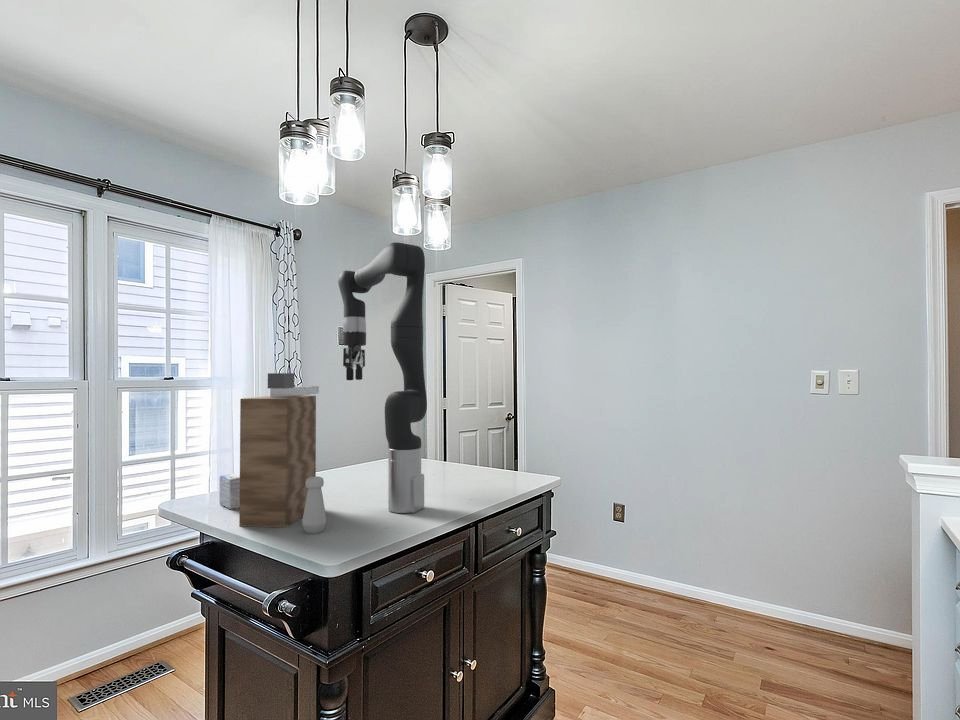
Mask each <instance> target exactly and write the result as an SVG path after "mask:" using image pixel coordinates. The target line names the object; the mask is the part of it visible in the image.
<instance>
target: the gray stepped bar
mask: <svg viewBox="0 0 960 720" xmlns="http://www.w3.org/2000/svg"><path fill="white" fill-rule="evenodd" d="M267 389H269V390H270V391H269V396H270V398H281V397H291V396H312V395H317V394H318V395H319V394H320V386H319V385H304V386H302V385H301V386H295V373H293V372H291V373H290V372H288V373H287V372H284V373H283V372H282V373H281V372H278V373H277V372H276V373H274V372H272V373H267Z"/></svg>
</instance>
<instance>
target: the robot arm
mask: <svg viewBox="0 0 960 720" xmlns="http://www.w3.org/2000/svg"><path fill="white" fill-rule="evenodd" d="M425 265H426V257H425V253H424V250H423V248H422V247H420V246H419V245H414V244H409V243H404V242H392V243H389V244H388V245H386V246H385V247H384V248H383V249H382V250H380V252H379V253H378V254H377V255H376V256H375V257H374V258H372V260H371V261H369V262H367V263H366V264H364V265H362V266H360V267H358V268H357V269H356V270H355V271H354V270H353V271H352V270H343V271H342V272H340V273H339V276H338V279H337V281H338V282H337V283H338V289H339V292H340V296H341V300H342V304H343V322H342V345H343V346H346V347H343V350H342V351H343V357H342V359H343V360H342V362H343V363H342V366H343V367H344V368H345V369H346V370H345V371H346V374H345V377H346V378H345V379H346V381H354V379H355V380H357V381H360V380H363V370H364V367H366V350H365V349H362V347H364V346H366V345H367V322H366V302H364V301H363V300H362V299H358V298H356V297H355V295H354V294H367V293H369V291H370V290H371V289H372V287H375V286H376V285H378V284H380V283H382V282H383V280H384V279H385V277H386V275H393V276H397V277H406V289H405V292H404V293H405V294H404V296H403V298H402V300H401V302H400V303H399V306H398V307H397V309H396V310H395V312H394V313H393V315H392V317H391V321H390V345H391V349H392V352H393V354H394V357H395V359H396V360H397V362H398V364H399V367H400V369H401V371H402V377H403V390H399V391H398V390H397V391H393V392H390V394H389V395H388V396H387V398H386V400H385V403H384V424H385V425H384V428H385V438H386V441H387V443H388V446H387V447H388V448H387V449H388V450H387V451H388V456H387V457H388V459H387V460H388V461H387V462H388V465H387V467H388V470H387V472H388V476H387V477H388V481H387V487H388V488H387V489H388V490H387V491H388V499H387V501H388V502H387V504H388V508H387V509H388V511H389V512H391V513H396V514H410V513H413V514H415V513H417V512H419V511H420V510H422V509H425V474H424V473H422V438H421V437H420V436H419V435H417V434H414V433H413V432H412V425H411V424H413V423H418V422H421V421H422V420H423V419H424V418H425V416H426V413H427V409H428V399H427V390H426V381H425V373H424V372H425V371H424V367H425V366H424V365H425V364H424V318H423V314H424V313H423V311H424V310H423V301H424V300H423V297H424V282H425V269H426V266H425ZM354 368H355V371H354ZM354 373H355V374H354ZM354 376H355V378H354Z"/></svg>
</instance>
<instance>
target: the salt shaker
mask: <svg viewBox="0 0 960 720" xmlns="http://www.w3.org/2000/svg"><path fill="white" fill-rule="evenodd" d="M324 484H325V481H324V478H323V477H321V476H316V477H310V478H307V479H306V482H305V485H306V488H308V492H307V498H306V503H305V509H304V514H303V516H302V519H301V524H302V528H303V529H304V532H305V534H311V535H312V534H319V533H322V532H323V531H324V530H325V527H326V525H327V522H328V519H327V515H326V514H327V513H326V508H325V502H324V497H323V490H322V488H323V487H324Z"/></svg>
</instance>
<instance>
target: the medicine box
mask: <svg viewBox="0 0 960 720" xmlns="http://www.w3.org/2000/svg"><path fill="white" fill-rule="evenodd" d="M219 506H222V507H224V506H225V508H227V509H228V510H235V509H240V508H239V507H240V474H238V473H228V474H227V473H226V474H223V475H220V476H219ZM234 508H235V509H234Z"/></svg>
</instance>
